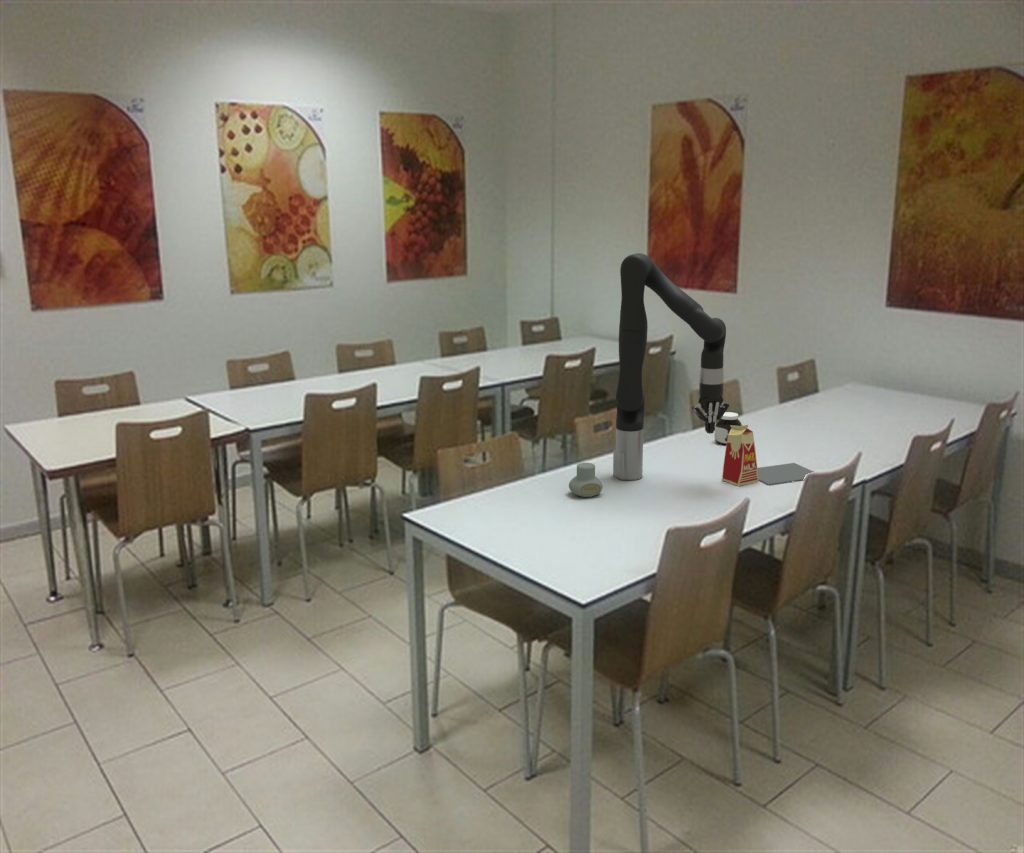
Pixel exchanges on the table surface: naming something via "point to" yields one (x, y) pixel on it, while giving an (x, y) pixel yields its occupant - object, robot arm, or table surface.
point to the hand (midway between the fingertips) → (709, 432)
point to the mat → (782, 473)
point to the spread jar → (725, 427)
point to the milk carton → (740, 457)
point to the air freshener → (585, 481)
